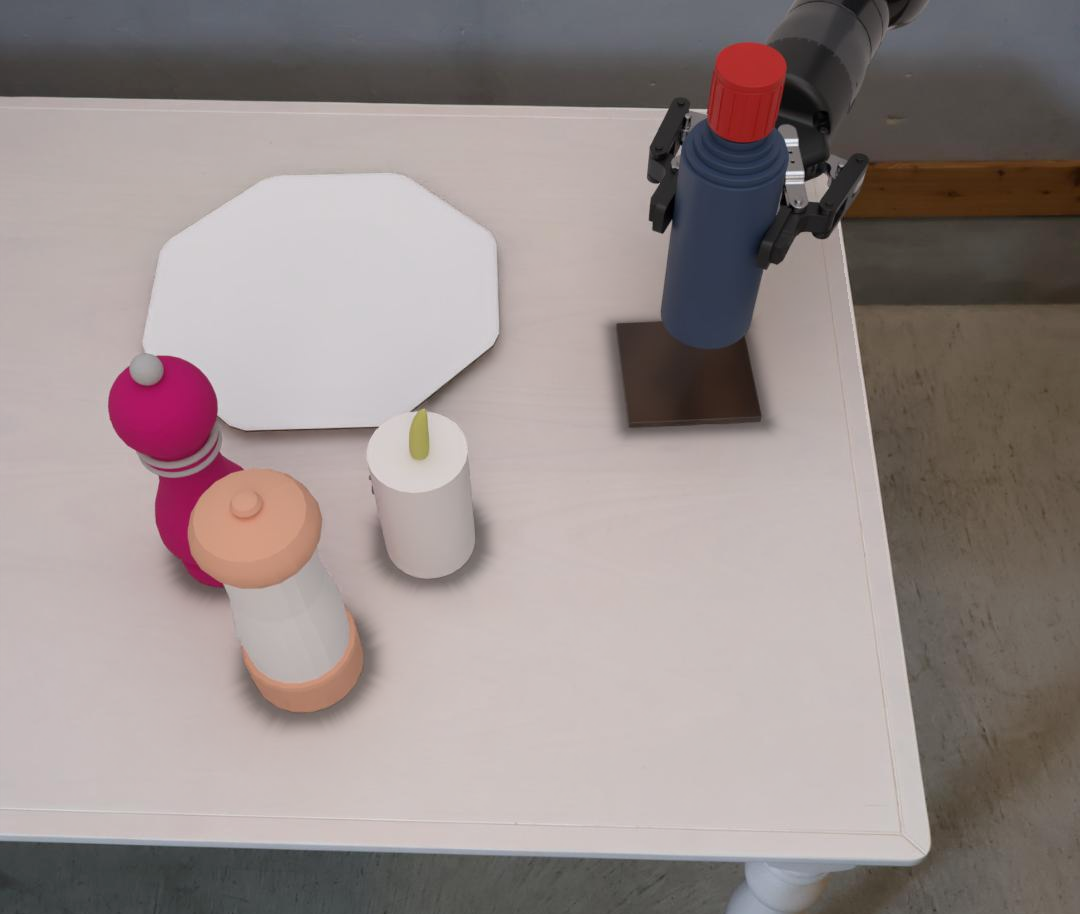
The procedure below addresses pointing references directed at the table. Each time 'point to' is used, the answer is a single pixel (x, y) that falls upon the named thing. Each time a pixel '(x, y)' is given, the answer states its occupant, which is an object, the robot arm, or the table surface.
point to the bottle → (719, 234)
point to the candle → (423, 493)
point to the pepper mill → (172, 441)
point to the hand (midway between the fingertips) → (710, 239)
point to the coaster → (683, 379)
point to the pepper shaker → (278, 587)
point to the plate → (326, 300)
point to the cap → (746, 91)
